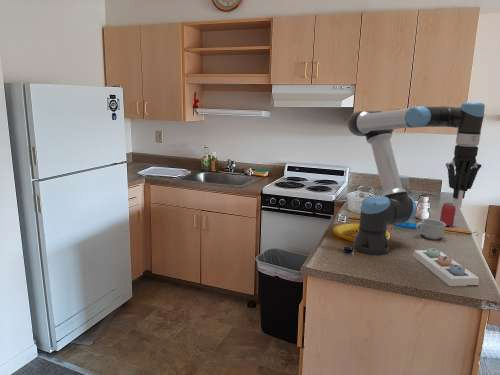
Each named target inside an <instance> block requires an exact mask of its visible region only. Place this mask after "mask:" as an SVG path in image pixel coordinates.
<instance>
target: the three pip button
mask: <svg viewBox="0 0 500 375" xmlns="http://www.w3.org/2000/svg"><path fill="white" fill-rule="evenodd" d="M447 256H448V255H446V256H439V257H438V261H437V264H439V265H440V266H441V267H448V266H450V265H451V264H452V260H453V258H451V257H450V256H448V257H447Z"/></svg>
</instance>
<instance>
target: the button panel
mask: <svg viewBox="0 0 500 375" xmlns="http://www.w3.org/2000/svg"><path fill="white" fill-rule="evenodd" d="M439 251H440V250H439ZM426 254H427V249H425V250H424V249H423V250H422V249H421V250H420V249H419V250H417V249H416V250H413V258H414V259H415V260H417V261H418V262H419V263H420V264H422V265H423V266H424V267H425V268H427V269H428V270H429V271H430V272H431V273H433V274H434V275H435V276H436V277H438V279H440V280H441V281H442V282H444V283H445V284H446V285H448V286H449V287H468V286H467V285H478V286H479V282H480V281H479V280H480V277H478V276H477V275H476V274H474V273H473V272H472V271H469V270H468V269H467V268H465V273H464V276H453V275H452V274H451V273H449V270H450V266H448V267H441V266H440V265H439V264H437V261H438V258H429V257H428V256H427V255H426ZM440 256H447V257H449V256H448V255H447V254H445V253H444V252H442V251H440ZM451 265H460V266H462V265H461V264H460V263H459V262H456V261H455V260H454V259H452V264H451Z"/></svg>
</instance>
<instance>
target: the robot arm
mask: <svg viewBox="0 0 500 375" xmlns="http://www.w3.org/2000/svg"><path fill="white" fill-rule="evenodd" d="M485 107H486V106H485V103H483V102H473V101H471V102H469V101H468V102H466V101H465V102H462V103H461V106H460V107H458V106H457V107H455V106H454V107H453V106H445V105H444V106H441V105H440V106H425V105H424V106H422V105H416V106H412V107H410V108H402V109H394V110H386V111H381V110H376V111H373V110H371V111H370V110H369V111H368V110H362V111H361V110H359V111H356V112H354V113H352V114H351V115H350V116H349V118H348V120H347V127H348V130H349V132H351V134H353V135H354V136H357V137H365V139H366V142H367V144H370V145H371V149H372V154H373V157H374V161H375V165H376V168H377V169H376V170H377V173H378V177H379V181H380V185H381V189H382V194H381V195H369V196H367V197H364V198H363V199H362V202H361V206H360V215H359V223H358V224H359V226H358V231H357V234H356V236H355V238H354V240H353V244H352V245H353V248H354V249H355V250H356V251H359V252H360V253H363V254H367V255H374V256H375V255H376V256H377V255H378V256H379V255H385V254H387V253H388V252H389V247H390V246H389V241H388V237H387V228H388V226H389V225H396V224H405V223H408V222H411V221H412V220H413V219H414V218H415V217H416V214H417V212H418V210H417V209H418V208H417V207H418V205H417V203H416V201H415V199H413V198H412V197H411V196H409V193H408V194H407V191H406V190H404V189H403V188H402V185H401V181H400V177H399V175H400V174H399V169H398V167H397V162H396V159H395V154H394V151H393V148H392V142H391V138H392V137H393V134H392V133H393V132H394V130H397V129H411V128H415V129H416V128H430V127H431V128H436V127H437V128H443V127H445V128H456V129H457V133H456V138H455V144H456V145H454V152H453V153H454V157H453V158H452V161H450V162H447V163H446V164H445V166H446V168H447V175H448V187H449V188H450V189H452V190H453V192H452V198H453V203H452V204H453V206H455V208H457V209H458V208H460V209H461V208H462V204H463V203H462V202H463V199H465V195H466V192H468V190H471V189H472V188H473V185H474V182H475V180H476V177H477V174H478V172H479V170H480V169H481V168H482V164H481V163H478V162H477V159H476V158H477V156H478V152H479V147H478V146H479V145H480V140H481V139H480V138H481V132H482V131H481V130H482V127H483V123H484V121H483V120H484V117H485Z"/></svg>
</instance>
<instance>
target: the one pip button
mask: <svg viewBox="0 0 500 375" xmlns="http://www.w3.org/2000/svg"><path fill="white" fill-rule="evenodd" d="M426 250H427V254H426V255H427V256H428V257H429V258H438V257H439V256H440V250H439V249H438V248H434V247H429V248H427V249H426Z"/></svg>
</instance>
